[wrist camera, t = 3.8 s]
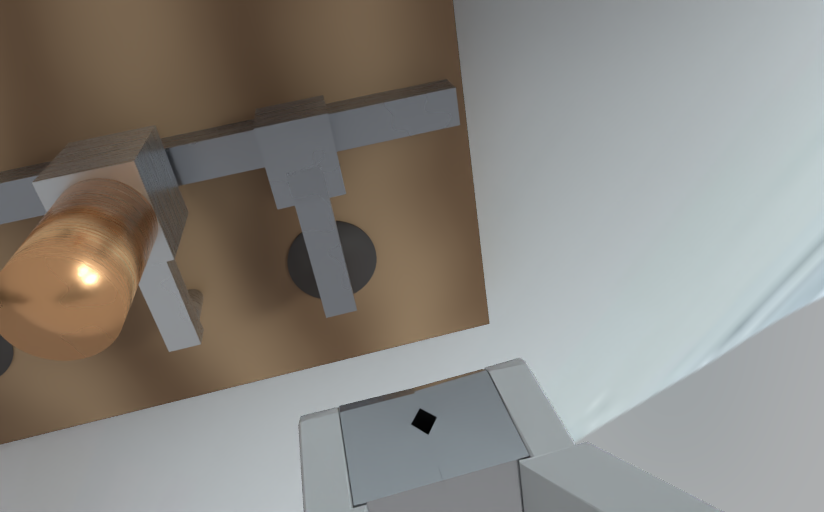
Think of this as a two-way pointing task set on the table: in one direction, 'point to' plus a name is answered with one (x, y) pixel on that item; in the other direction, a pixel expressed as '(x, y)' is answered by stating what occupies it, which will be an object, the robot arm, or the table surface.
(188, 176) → the bar
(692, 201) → the table surface
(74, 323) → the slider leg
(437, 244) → the brown wooden board
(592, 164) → the table surface
